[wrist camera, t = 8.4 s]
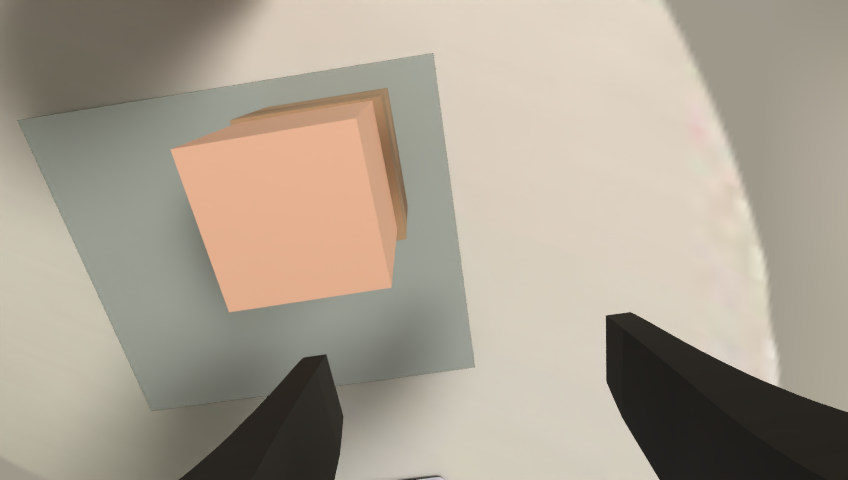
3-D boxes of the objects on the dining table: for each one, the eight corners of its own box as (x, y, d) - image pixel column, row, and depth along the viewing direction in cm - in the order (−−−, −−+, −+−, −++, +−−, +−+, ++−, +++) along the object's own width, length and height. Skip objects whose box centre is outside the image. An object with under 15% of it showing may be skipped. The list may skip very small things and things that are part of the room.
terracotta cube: (397, 229, 17) (391, 287, 13) (274, 248, 17) (229, 312, 13) (372, 100, 15) (356, 117, 11) (236, 123, 15) (170, 149, 11)
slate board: (473, 360, 24) (474, 367, 24) (157, 403, 25) (151, 410, 25) (432, 53, 19) (433, 53, 18) (28, 118, 20) (17, 120, 19)
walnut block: (407, 205, 21) (406, 239, 17) (296, 222, 21) (270, 259, 17) (387, 87, 19) (381, 96, 15) (265, 106, 19) (229, 120, 15)
